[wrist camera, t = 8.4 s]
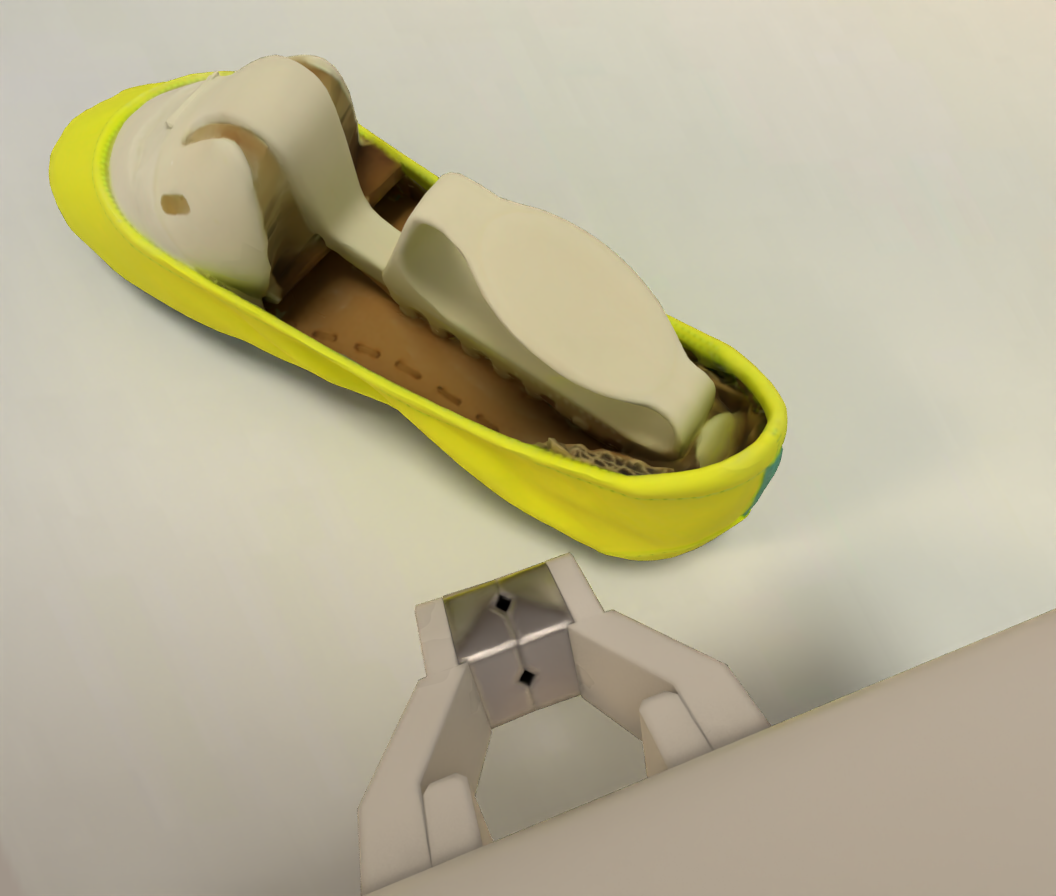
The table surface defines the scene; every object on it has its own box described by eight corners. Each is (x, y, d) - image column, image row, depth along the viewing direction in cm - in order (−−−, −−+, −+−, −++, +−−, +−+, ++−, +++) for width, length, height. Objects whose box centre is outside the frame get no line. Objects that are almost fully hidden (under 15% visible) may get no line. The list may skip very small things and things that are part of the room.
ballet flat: (192, 67, 22) (38, -226, 14) (766, 416, 21) (945, 302, 13) (29, 225, 20) (-256, -17, 12) (653, 626, 19) (784, 642, 11)
